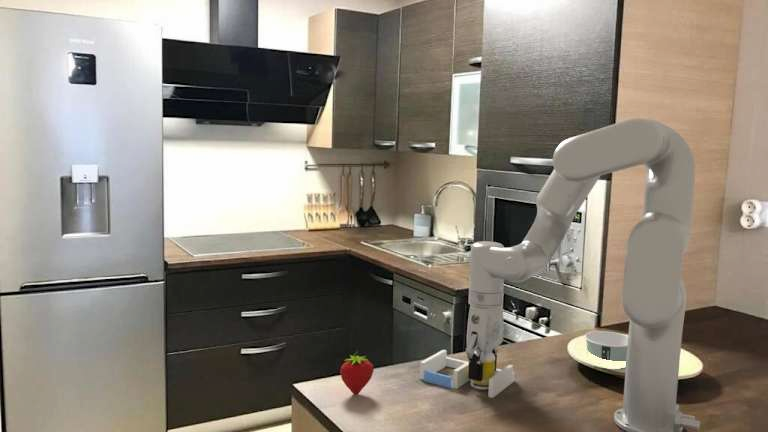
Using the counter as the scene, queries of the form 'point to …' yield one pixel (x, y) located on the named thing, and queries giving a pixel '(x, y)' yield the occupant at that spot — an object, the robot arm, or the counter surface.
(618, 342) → the food container
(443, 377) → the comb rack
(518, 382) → the counter surface
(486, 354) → the supplement bottle
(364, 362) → the strawberry
